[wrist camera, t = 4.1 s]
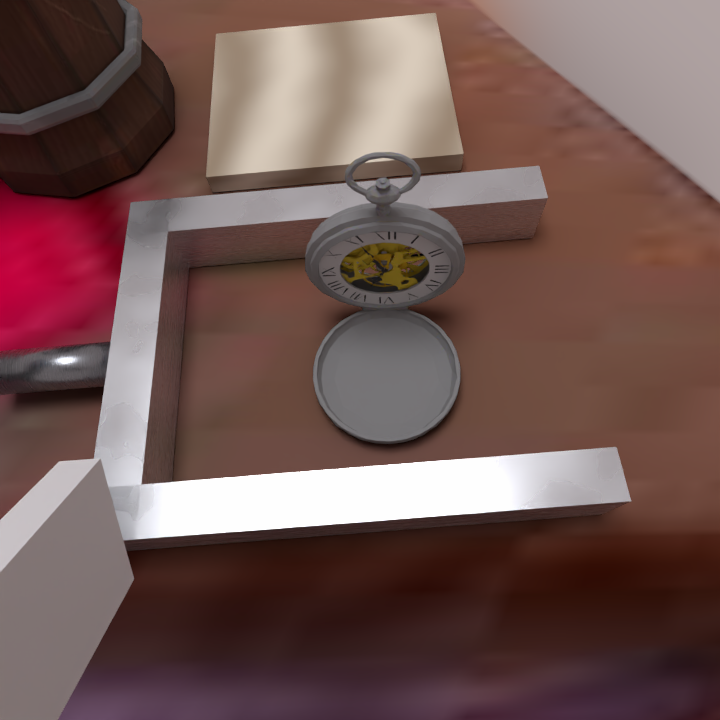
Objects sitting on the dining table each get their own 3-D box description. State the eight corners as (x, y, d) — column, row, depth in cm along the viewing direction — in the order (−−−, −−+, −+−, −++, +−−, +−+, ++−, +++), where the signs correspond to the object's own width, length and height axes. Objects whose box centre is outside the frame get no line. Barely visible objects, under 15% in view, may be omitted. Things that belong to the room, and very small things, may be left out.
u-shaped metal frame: (-23, 562, 23) (-79, 555, 20) (46, 249, 29) (10, 213, 27) (601, 514, 22) (631, 501, 19) (525, 207, 29) (538, 165, 26)
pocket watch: (366, 476, 23) (349, 392, 14) (272, 334, 26) (209, 191, 17) (514, 378, 25) (585, 244, 16) (408, 255, 28) (416, 85, 19)
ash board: (212, 192, 30) (205, 177, 29) (221, 51, 36) (216, 33, 34) (460, 170, 30) (463, 153, 29) (434, 31, 35) (435, 13, 34)
